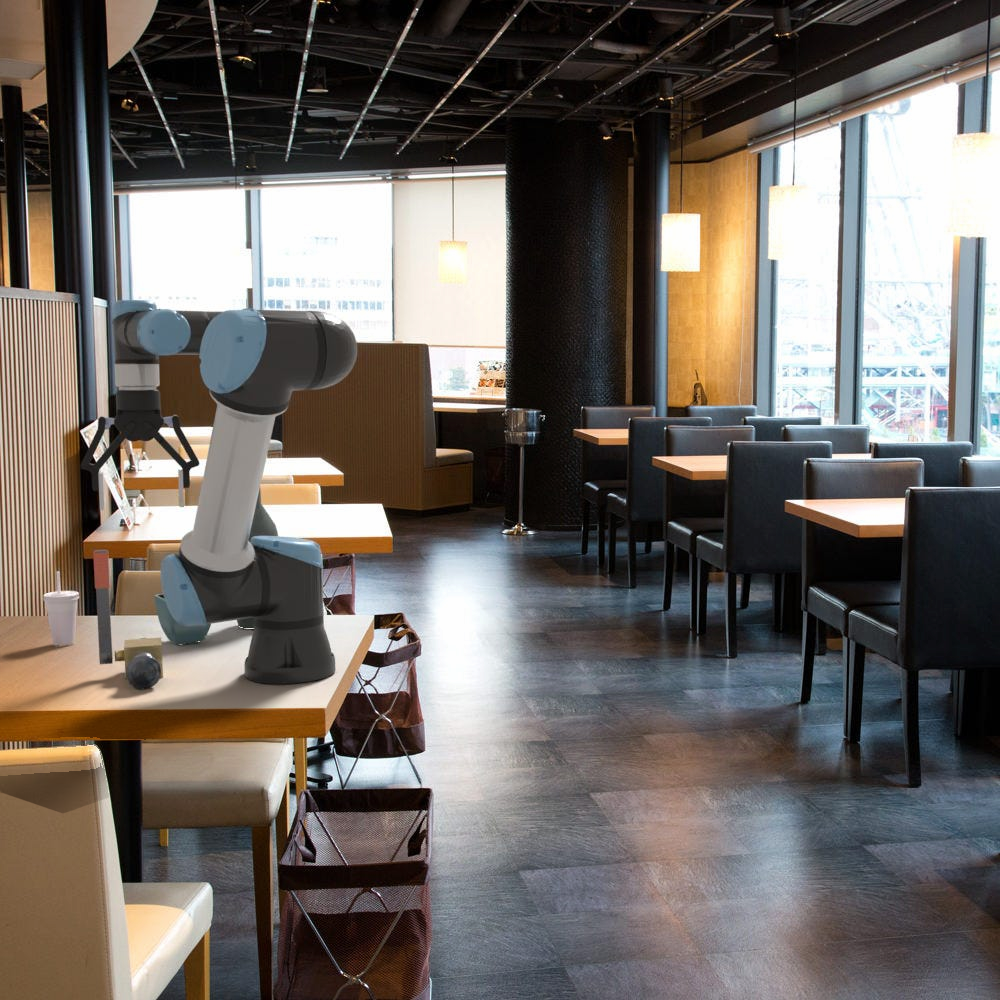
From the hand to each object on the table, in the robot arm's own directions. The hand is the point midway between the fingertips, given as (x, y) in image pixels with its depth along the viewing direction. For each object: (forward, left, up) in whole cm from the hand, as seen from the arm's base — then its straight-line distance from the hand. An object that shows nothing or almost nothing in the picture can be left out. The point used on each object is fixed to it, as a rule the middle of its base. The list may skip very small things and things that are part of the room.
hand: (142, 507), depth 215 cm
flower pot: (+2, -10, -27) cm, 29 cm away
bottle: (+1, -28, -27) cm, 39 cm away
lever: (-8, +15, -24) cm, 29 cm away
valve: (-14, +12, -27) cm, 32 cm away
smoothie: (+20, +4, -27) cm, 34 cm away
